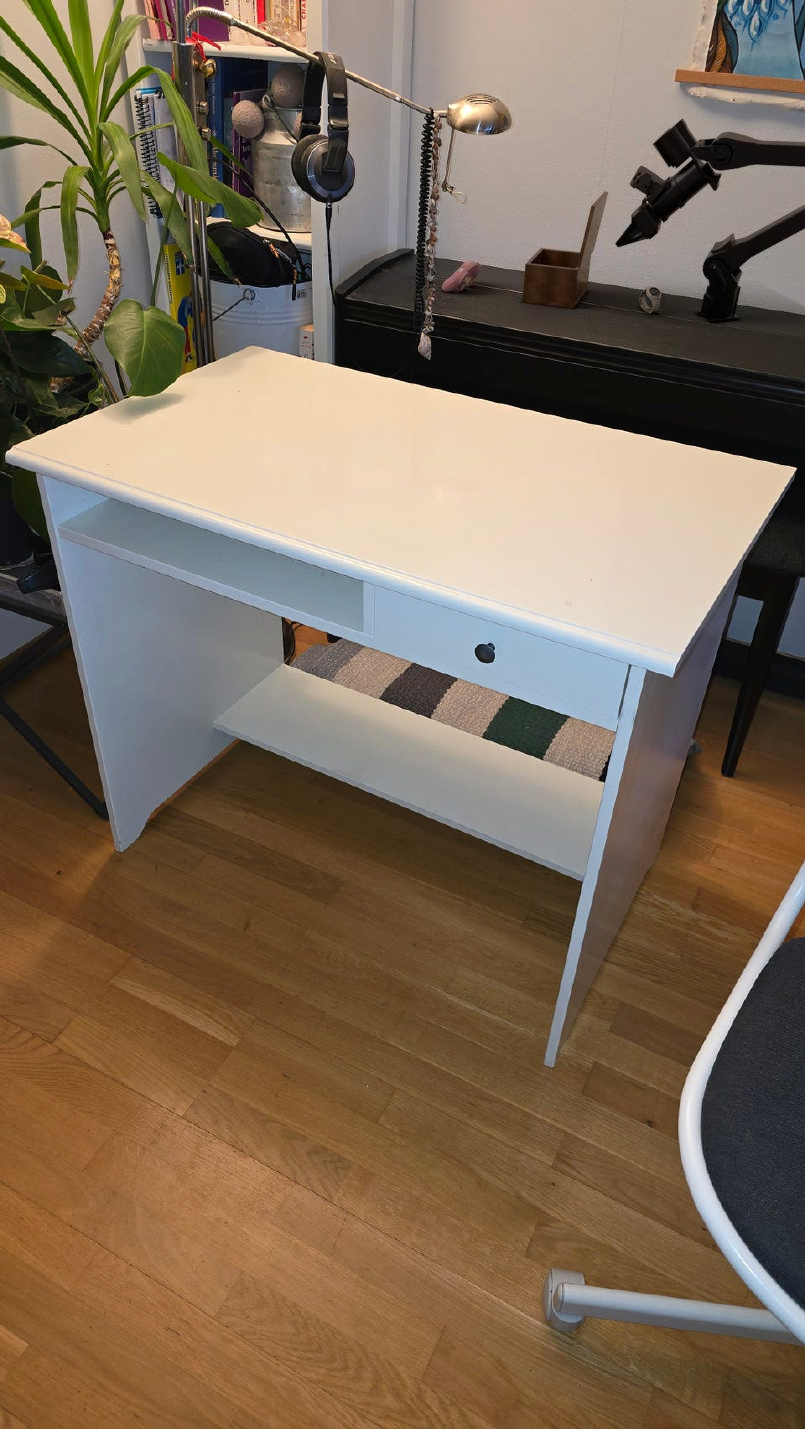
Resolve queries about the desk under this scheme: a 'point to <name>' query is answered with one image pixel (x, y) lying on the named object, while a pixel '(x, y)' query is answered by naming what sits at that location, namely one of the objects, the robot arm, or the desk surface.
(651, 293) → the wristwatch
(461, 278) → the pink rounded lump
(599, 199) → the sorter lid
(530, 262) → the sorter box
